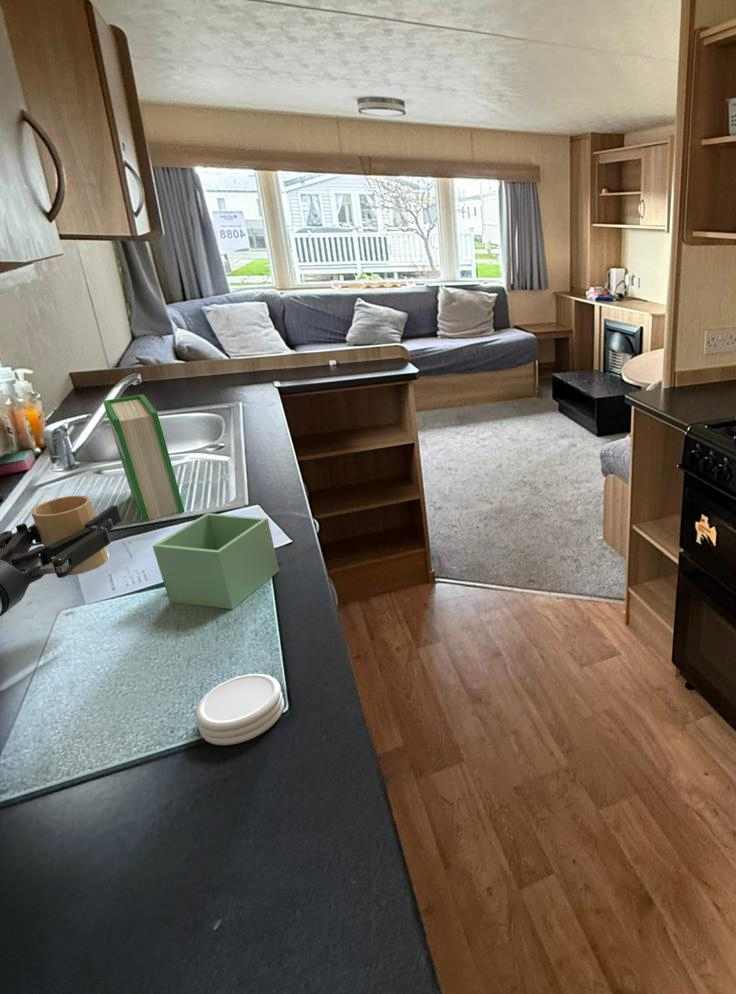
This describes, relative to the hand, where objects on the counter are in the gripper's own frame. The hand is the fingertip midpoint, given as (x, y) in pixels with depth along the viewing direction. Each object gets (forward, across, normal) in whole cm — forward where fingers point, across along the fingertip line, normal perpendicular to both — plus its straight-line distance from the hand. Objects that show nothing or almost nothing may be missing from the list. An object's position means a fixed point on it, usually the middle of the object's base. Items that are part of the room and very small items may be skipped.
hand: (90, 514), depth 102 cm
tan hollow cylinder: (-5, 0, -6) cm, 8 cm away
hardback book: (+41, -16, -19) cm, 47 cm away
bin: (+7, +14, -18) cm, 24 cm away
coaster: (-27, +30, -18) cm, 44 cm away
